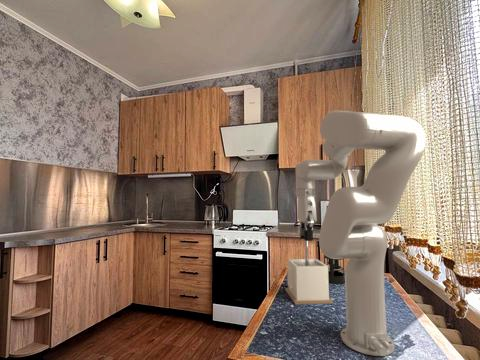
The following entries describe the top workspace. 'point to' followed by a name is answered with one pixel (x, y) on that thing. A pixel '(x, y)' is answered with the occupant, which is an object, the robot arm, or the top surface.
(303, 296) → the white open box
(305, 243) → the plunger
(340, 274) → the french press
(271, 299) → the top surface
